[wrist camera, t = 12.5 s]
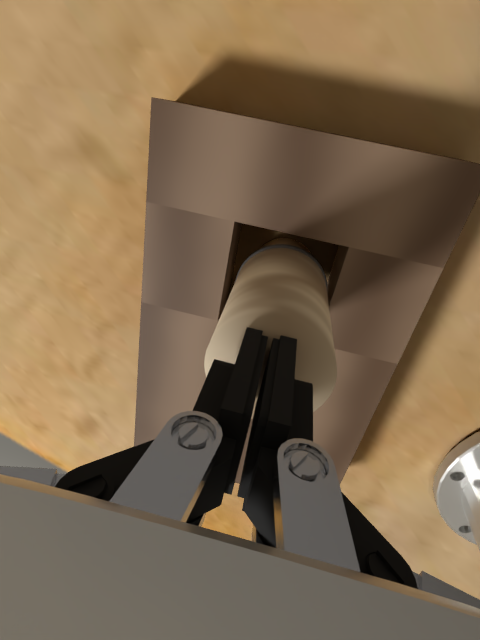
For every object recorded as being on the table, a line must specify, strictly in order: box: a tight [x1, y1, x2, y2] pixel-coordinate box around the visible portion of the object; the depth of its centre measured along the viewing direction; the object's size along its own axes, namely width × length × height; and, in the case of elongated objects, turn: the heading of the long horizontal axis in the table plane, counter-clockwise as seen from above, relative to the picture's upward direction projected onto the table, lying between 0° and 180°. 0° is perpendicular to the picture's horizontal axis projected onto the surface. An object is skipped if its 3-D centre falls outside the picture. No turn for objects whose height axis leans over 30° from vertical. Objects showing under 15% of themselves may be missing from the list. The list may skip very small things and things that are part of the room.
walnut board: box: [134, 97, 480, 485], centre depth 22 cm, size 14×22×3 cm, turn 170°
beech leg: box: [204, 238, 337, 419], centre depth 17 cm, size 4×4×10 cm
